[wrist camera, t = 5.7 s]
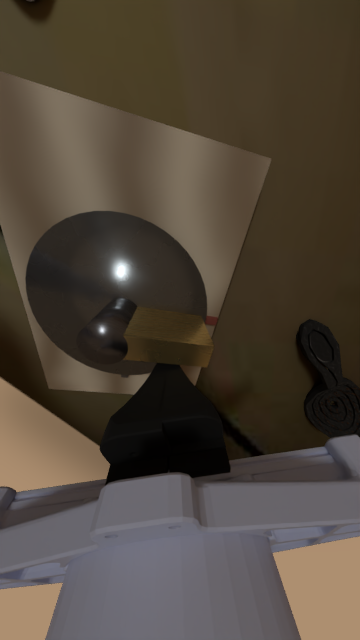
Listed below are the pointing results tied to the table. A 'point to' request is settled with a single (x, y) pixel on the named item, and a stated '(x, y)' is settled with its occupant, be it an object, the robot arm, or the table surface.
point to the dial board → (118, 196)
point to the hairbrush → (329, 384)
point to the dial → (118, 294)
